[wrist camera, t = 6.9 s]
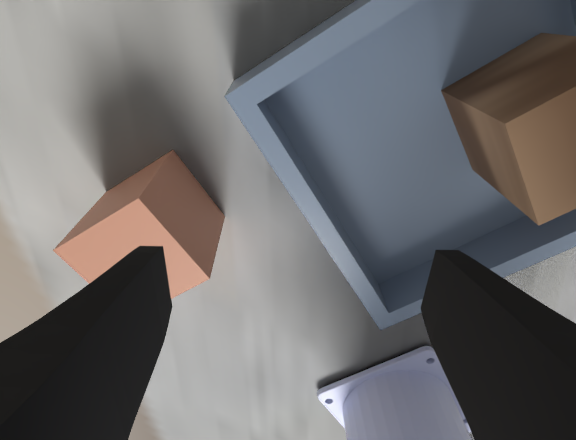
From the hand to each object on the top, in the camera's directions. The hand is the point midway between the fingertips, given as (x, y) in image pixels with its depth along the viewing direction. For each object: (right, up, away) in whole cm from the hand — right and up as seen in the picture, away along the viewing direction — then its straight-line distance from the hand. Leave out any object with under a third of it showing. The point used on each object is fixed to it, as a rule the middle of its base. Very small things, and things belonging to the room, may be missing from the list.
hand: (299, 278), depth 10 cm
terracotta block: (-6, +2, +8) cm, 11 cm away
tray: (+6, +5, +7) cm, 11 cm away
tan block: (+9, +6, +6) cm, 12 cm away
